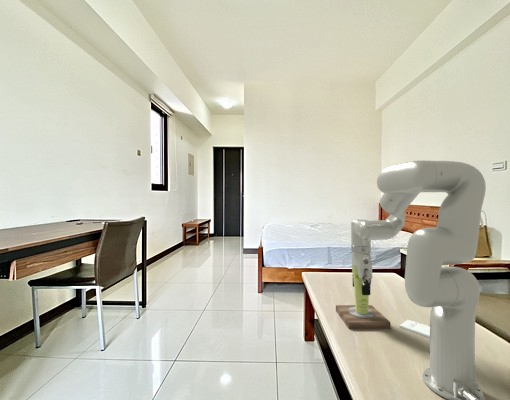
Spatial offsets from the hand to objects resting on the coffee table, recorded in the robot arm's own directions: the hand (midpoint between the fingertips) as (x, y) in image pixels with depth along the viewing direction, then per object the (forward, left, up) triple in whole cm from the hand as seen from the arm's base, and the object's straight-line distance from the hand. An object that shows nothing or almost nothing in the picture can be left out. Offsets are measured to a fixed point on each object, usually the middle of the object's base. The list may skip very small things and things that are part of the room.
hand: (361, 290), depth 108 cm
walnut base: (0, 0, -12) cm, 12 cm away
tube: (0, 0, -9) cm, 9 cm away
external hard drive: (-9, -19, -13) cm, 25 cm away
